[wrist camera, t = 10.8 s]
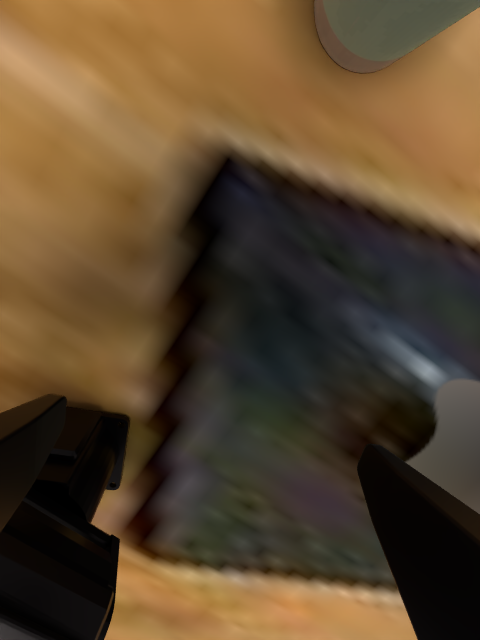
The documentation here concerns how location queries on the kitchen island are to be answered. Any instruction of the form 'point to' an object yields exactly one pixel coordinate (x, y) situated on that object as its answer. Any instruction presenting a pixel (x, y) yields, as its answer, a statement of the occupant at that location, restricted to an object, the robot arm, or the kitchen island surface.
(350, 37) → the coffee cup
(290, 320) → the kitchen island surface
